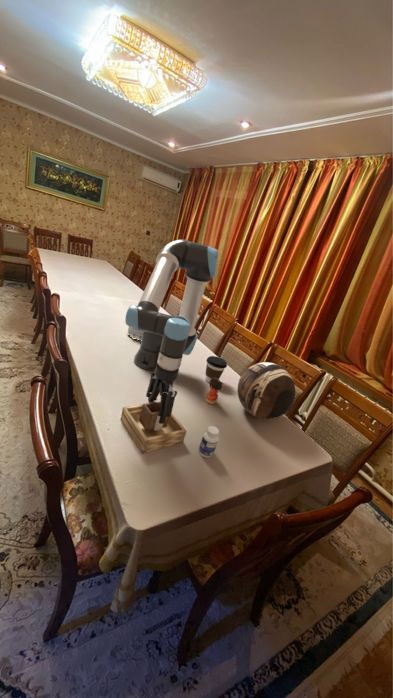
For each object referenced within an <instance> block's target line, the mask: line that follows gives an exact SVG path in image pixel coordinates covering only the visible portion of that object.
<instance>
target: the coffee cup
mask: <svg viewBox="0 0 393 698" xmlns="http://www.w3.org/2000/svg"><path fill="white" fill-rule="evenodd" d="M227 367H228V364H227V361H226V360H225V359H224V358H222V357H220V356H214V355H211V356H208V357H207V358H206V368H205V377H204V379H205V381H206V382H208V384H210V380H211V379H212V378H213V377H216V378H218V379H219V380H220V379H221V376H222V375H223V373H224V371H225V369H226V368H227Z"/></svg>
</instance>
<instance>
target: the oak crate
mask: <svg viewBox="0 0 393 698" xmlns="http://www.w3.org/2000/svg"><path fill="white" fill-rule="evenodd" d="M143 404H144V403H142V404H138V405H130V406H124V407H122V411H121V416H120V420H121V421H122V424H123V425H124V426H125V428H126V430H127V431H128V432H129V434H130V436H131V437H132V439H133V440H134V442H135V444H136V446H137V447H138V449H139V450H140V452H141V453H142V454H145V453H149V452H152V451H155V450H159V449H163V448H166V447H171V446H173V445H178V444H180V443H181V444H182V443H184V440H185V438H186V434H187V429H186V428H185V427H184V426H183V425H182V423H181V422H180V421H179V420H178V419H177V417H176V416H175V415H174V414H173V412H172V413H171V416H170V417H169V420H168V424H167V427H165V428H162V429H160V430H150V431H146V430H145V429H144V427H143V426H142V424H141V423H140V421H139V418H140V414H141V410H142V406H143Z"/></svg>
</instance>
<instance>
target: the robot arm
mask: <svg viewBox="0 0 393 698" xmlns="http://www.w3.org/2000/svg"><path fill="white" fill-rule="evenodd" d="M218 261H219V251H218V249H216V248H215V247H214V248H213V247H211V246H209V245H206V244H201V243H198V242H193V241H190V240H188V239H176V240H173V241H170V242H168V243H167V244H166V245H164V246H163V247H162V248H161V249H160V251H159V252H158V254H157V256H156V258H155V263H156V265H155V266H154V269H153V271H152V273H151V275H150V277H149V279H148V281H147V284H146V286H145V288H144V291H143V293H142V295H141V297H140V299H139V301H138V304H137V305H136V304H135V305H133V304H131V305H130V306H129V307H128V308H127V311H126V314H125V324H126V326H127V327H129V326H130V327H132V328H135V329H139V330H143V336H142V341H140V345H139V346H140V347H139V348H138V350H137V352H136V354H135V355H134V358H133V363H134V362H135V363H136V364H137V365H138V367H139V366H140V367H139V368H141V369H144V370H149V371H154V372H150V380H149V384H148V387H147V391H146V394H145V396H146V398H147V401H148V402H147V403H153V402H157V401H158V396H160V401H159V402H160V413H159V414H158V416H157V420H156V423H155V427H154V430H160V429H162V426H163V423H164V422H165V418H166V417H170V416H171V413H172V414H173V408H174V404H175V400H176V396H177V394H178V391H177V390H174V388H173V387H174V382H175V380H177V378H178V374H179V370H180V367H181V364H182V361H183V355H184V356H189V355H191V354H192V352H193V350H194V348H195V345H196V342H198V341H197V340H198V334H197V330H196V328H195V325H196V321H197V318H198V314H199V311H200V307H201V303H202V301H203V296H204V293H205V290H206V285H207V283H210V282H211V280H212V279H214V278H216V275H217V270H218V269H217V267H218V263H219V262H218ZM178 269H182V270H185V272H184V275H185V277H186V283H185V288H184V292H183V297H182V301H181V303H180V308H179V312H178V315H176V316H173V315H169V314H167V313H162V312H160V310H161V306H162V304H163V302H164V298H165V296H166V294H167V291H168V288H169V286H170V283H171V281H172V278H173V275H174V274H175V272H176V271H177V270H178ZM135 363H134V364H135ZM136 364H135V365H136ZM137 365H136V366H137Z"/></svg>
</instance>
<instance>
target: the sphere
mask: <svg viewBox="0 0 393 698" xmlns="http://www.w3.org/2000/svg"><path fill="white" fill-rule="evenodd" d="M237 395H238V396H237V397H238V399H239V403H240V404H241V406H242V408H243V409H244V410H245V411H246V412H248V414H250V415H251V416H253V417H255V418H257V419H262V420H273V419H277V418H280V417H282V416H283V415H285V414H286V413H288V411H289V410H290V409H291V407H292V406H293V405H294V402H295V398H296V386H295V382H294V379H293V377H292V376H291V374H290V373H289V372H288V371H287V370H286V369H285V368H283V367H282V366H281V365H279V364H276V363H274V362H267V361H266V362H257V363H254V364H252V365H251V366H249V367H248V368H246V370H245V371H244V372H243V373H242V374H241V376H240V378H239V380H238V384H237Z"/></svg>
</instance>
